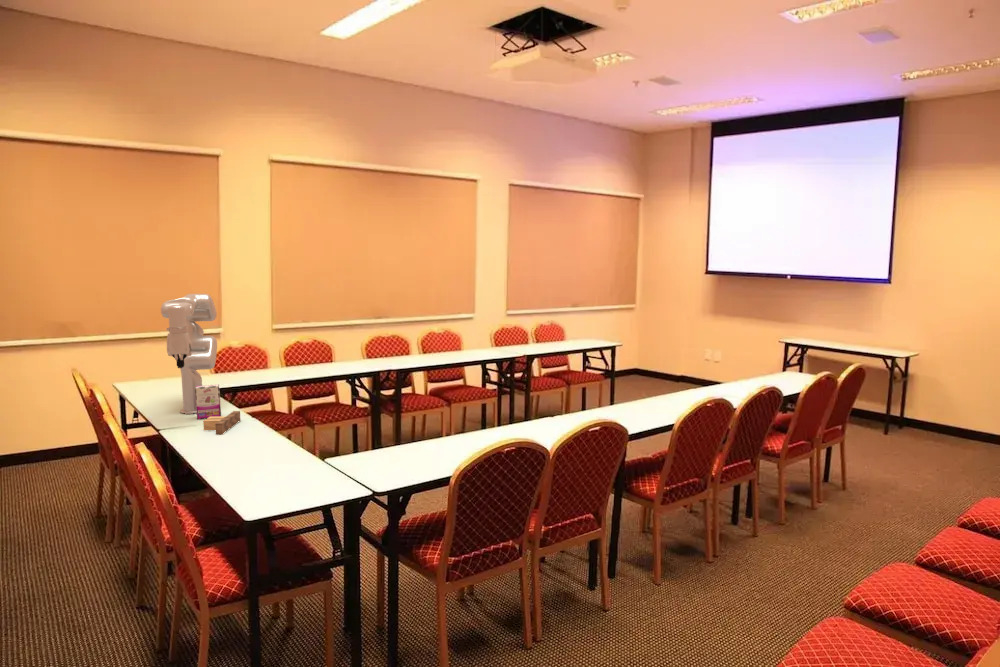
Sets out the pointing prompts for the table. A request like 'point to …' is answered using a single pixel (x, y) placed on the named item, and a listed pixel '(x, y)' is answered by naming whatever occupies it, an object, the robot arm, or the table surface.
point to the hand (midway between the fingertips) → (180, 367)
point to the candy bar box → (207, 401)
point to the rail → (227, 422)
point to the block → (212, 422)
